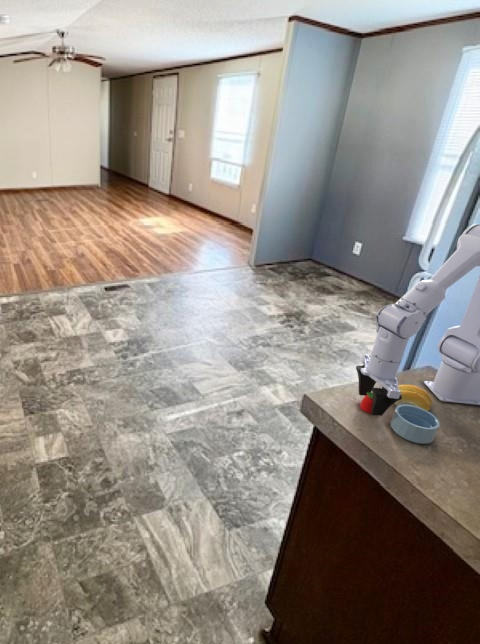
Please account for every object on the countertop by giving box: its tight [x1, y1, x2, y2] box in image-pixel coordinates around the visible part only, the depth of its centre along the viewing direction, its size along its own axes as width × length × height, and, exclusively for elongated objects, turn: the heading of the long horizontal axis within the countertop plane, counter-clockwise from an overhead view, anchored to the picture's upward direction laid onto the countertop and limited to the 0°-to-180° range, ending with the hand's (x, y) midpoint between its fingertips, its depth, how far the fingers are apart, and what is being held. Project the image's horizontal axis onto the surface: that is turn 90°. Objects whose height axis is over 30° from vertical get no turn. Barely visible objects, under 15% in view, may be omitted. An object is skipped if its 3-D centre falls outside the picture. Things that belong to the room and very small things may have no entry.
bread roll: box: [393, 384, 433, 412], centre depth 103 cm, size 8×9×4 cm
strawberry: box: [359, 392, 373, 414], centre depth 101 cm, size 3×3×4 cm
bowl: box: [389, 404, 441, 445], centre depth 93 cm, size 8×8×4 cm
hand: (370, 404), depth 101 cm, fingers open, 7 cm apart
